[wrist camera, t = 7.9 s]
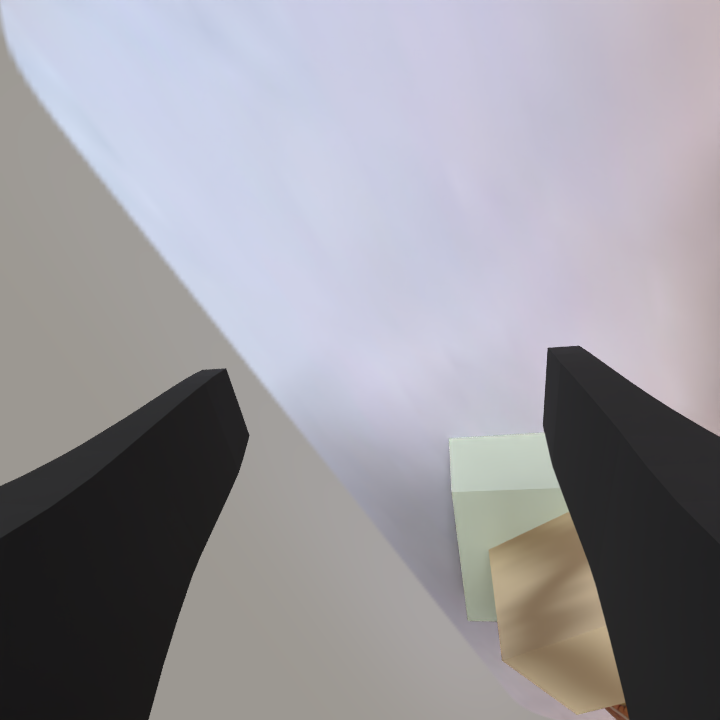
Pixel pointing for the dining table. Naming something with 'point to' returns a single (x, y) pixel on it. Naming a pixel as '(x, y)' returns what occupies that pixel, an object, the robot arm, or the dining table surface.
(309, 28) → the dining table surface
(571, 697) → the maple cube
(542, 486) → the sage base block
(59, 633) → the robot arm
